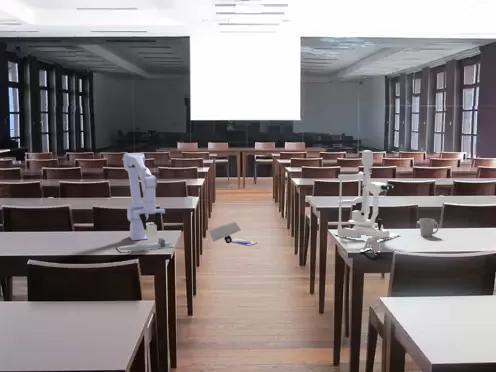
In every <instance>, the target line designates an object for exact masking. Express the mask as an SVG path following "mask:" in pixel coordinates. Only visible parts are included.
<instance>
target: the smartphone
mask: <svg viewBox="0 0 496 372" xmlns="http://www.w3.org/2000/svg"><path fill="white" fill-rule="evenodd" d="M231 239H232V242H231V243H232V244H237V245H241V246H245V247H246V246H247V247H252V246H254V245H257V244H258V242H256V241H253V240H247V239H242V238H237V237H234V238H231Z"/></svg>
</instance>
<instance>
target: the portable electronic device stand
mask: <svg viewBox="0 0 496 372" xmlns="http://www.w3.org/2000/svg"><path fill="white" fill-rule="evenodd" d="M381 238H382V236H381V235H376V236H373V237H369V238H368V239H367V241H366V242H365V244H364V246H363V247H360V248H359V249H358V251H359V250H361V249H363V250H365V249H366V248H370V247H371V248H373V249H372V250H373V253H374V256H377V255H378V254H375V252H377V251H381V249H380V246H379V243H378V242H377V240H379V239H381ZM369 242H371V243H370V244H371V245H369ZM377 253H378V252H377Z"/></svg>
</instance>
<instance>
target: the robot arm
mask: <svg viewBox="0 0 496 372" xmlns="http://www.w3.org/2000/svg"><path fill="white" fill-rule="evenodd" d="M122 159H123V160H122V162H123V168H124V170H125V171H126V172H127V173H128V175H127V176H128V180H129V181H128V182H129V189H130V190H129V191H130V197H131V203H130V204H129V205H128V206H127V208H126V211H127V212H126V216H127V217H126V218H127V220H128V221H129V222H130V225H129V232H130V233H129V234H130V235H128V238H130V239H131V240H132V241H140V240H141V241H142V240H148V239H149V238H148V236H147V234H144V230H146V223H147V220H148V218H149V215H153V223H154V224H156V225H157V226H158V224H159V220H160V218H161V214H166V209H165V208H156V207H157V206H156V200H157V199H156V188H157V187H158V180H157V177H156V175H153V174H152V173H151V171H150V169H149V168H148V167H146V165H145V161H146V157H145V154H144V152H142V151H141V152H128V153H127V152H125V153H123V158H122ZM139 179H140V180H139ZM140 181H141V182H140ZM140 183H141V189H140ZM141 190H142V194H143V199H142V198H141V197H142V196H141V195H142V194H141ZM142 200H143V201H142Z"/></svg>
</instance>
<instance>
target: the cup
mask: <svg viewBox="0 0 496 372" xmlns="http://www.w3.org/2000/svg"><path fill="white" fill-rule="evenodd" d="M435 225H436V231H434V228H435ZM419 229H420V230H419V231H420V235H421V236H422V237H425V236H431V237H432V236H433V235H434V234H436V233H438V232H439V223H438V222H436V220H435V219H434V218H428V217H425V218H424V217H423V218H420V219H419Z"/></svg>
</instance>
